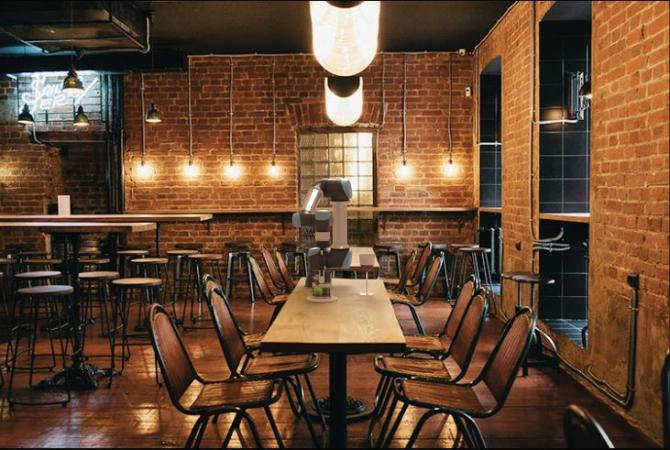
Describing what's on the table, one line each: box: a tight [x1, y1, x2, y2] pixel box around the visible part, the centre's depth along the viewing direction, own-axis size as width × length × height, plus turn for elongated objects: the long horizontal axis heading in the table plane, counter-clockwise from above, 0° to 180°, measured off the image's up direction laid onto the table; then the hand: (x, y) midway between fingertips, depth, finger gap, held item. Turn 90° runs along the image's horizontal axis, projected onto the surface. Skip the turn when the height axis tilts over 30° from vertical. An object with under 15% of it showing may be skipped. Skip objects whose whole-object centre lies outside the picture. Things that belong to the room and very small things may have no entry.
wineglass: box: [358, 253, 376, 296], centre depth 332 cm, size 9×10×22 cm
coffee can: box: [311, 268, 333, 299], centre depth 313 cm, size 10×10×14 cm
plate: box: [306, 295, 338, 303], centre depth 313 cm, size 16×16×1 cm
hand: (322, 280), depth 313 cm, fingers open, 13 cm apart
